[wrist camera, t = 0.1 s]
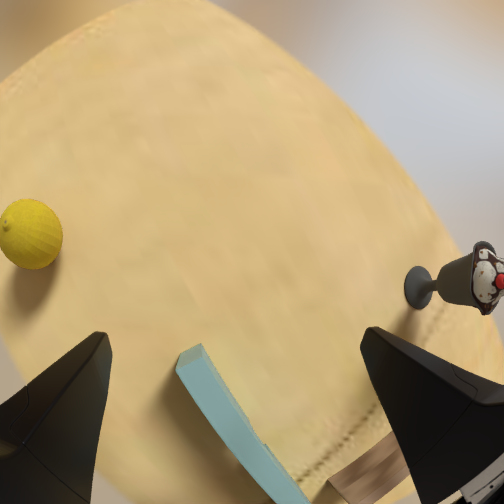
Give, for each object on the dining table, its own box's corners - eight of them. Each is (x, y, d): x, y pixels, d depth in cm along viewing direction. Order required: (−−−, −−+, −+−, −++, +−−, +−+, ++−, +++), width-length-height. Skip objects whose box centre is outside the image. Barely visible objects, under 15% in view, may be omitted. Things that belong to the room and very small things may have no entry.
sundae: (392, 305, 27) (513, 297, 12) (406, 249, 28) (515, 214, 14) (428, 324, 27) (536, 322, 13) (440, 272, 29) (540, 250, 14)
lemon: (69, 279, 21) (22, 268, 13) (25, 268, 20) (-25, 254, 12) (81, 219, 22) (42, 187, 14) (38, 213, 21) (-6, 182, 13)
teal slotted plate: (300, 488, 21) (322, 519, 15) (284, 497, 21) (303, 529, 15) (200, 343, 22) (202, 356, 17) (180, 353, 22) (175, 370, 16)
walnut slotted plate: (447, 374, 27) (481, 379, 21) (450, 384, 27) (483, 391, 21) (327, 479, 22) (352, 506, 16) (333, 487, 22) (358, 513, 16)
